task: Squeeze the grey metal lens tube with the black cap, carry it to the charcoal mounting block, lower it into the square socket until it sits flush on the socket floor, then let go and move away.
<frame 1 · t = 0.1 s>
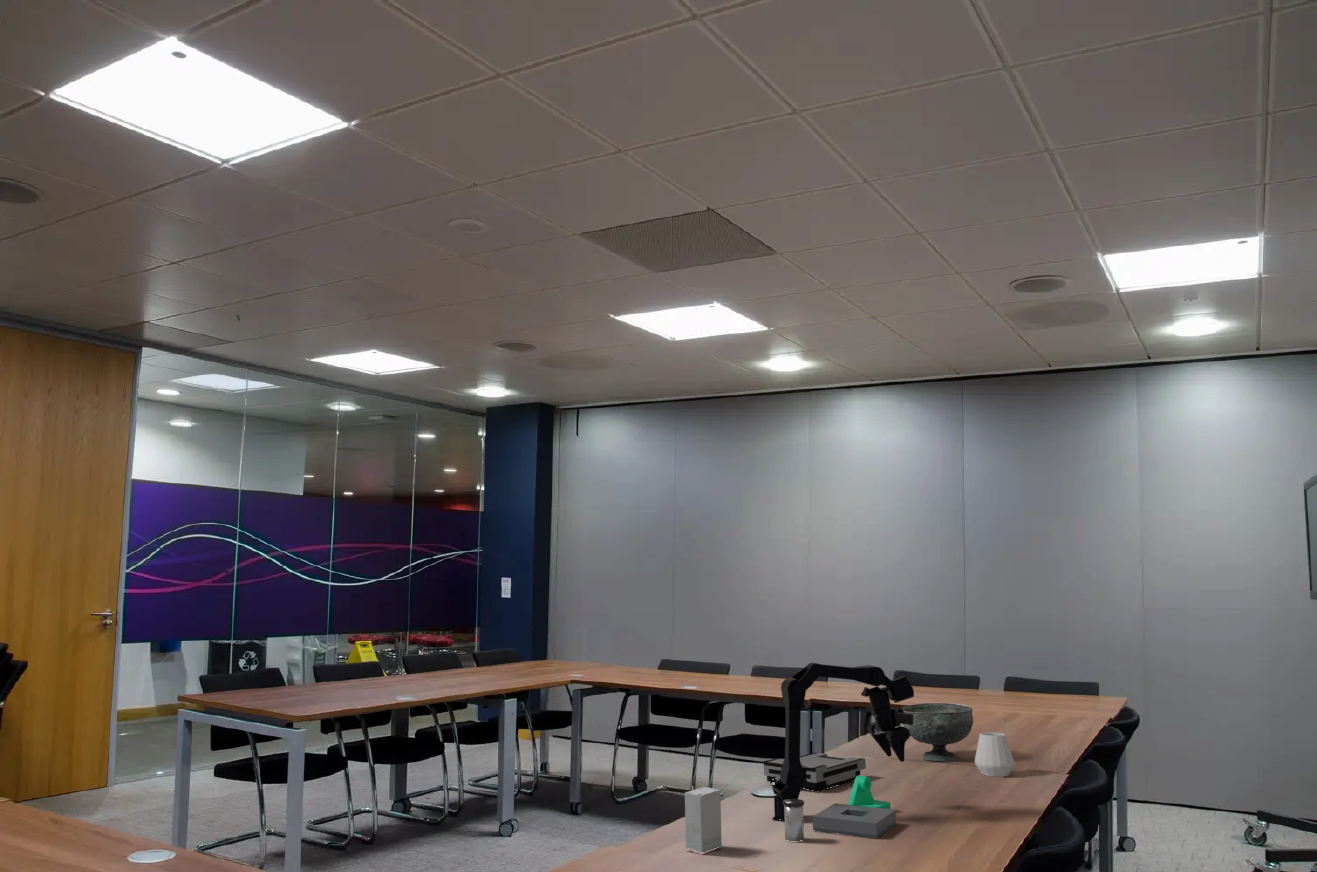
hand: (896, 758, 293), 15 cm above the table, tool pointing down, fingers open, 9 cm apart
skincare box: (703, 850, 252), on the table
white faceted vase: (995, 775, 346), on the table
game console: (816, 783, 337), on the table
lens tube: (794, 840, 261), on the table
mount block: (855, 827, 273), on the table
camera mount: (870, 813, 291), on the table
decorative bowl: (939, 759, 377), on the table
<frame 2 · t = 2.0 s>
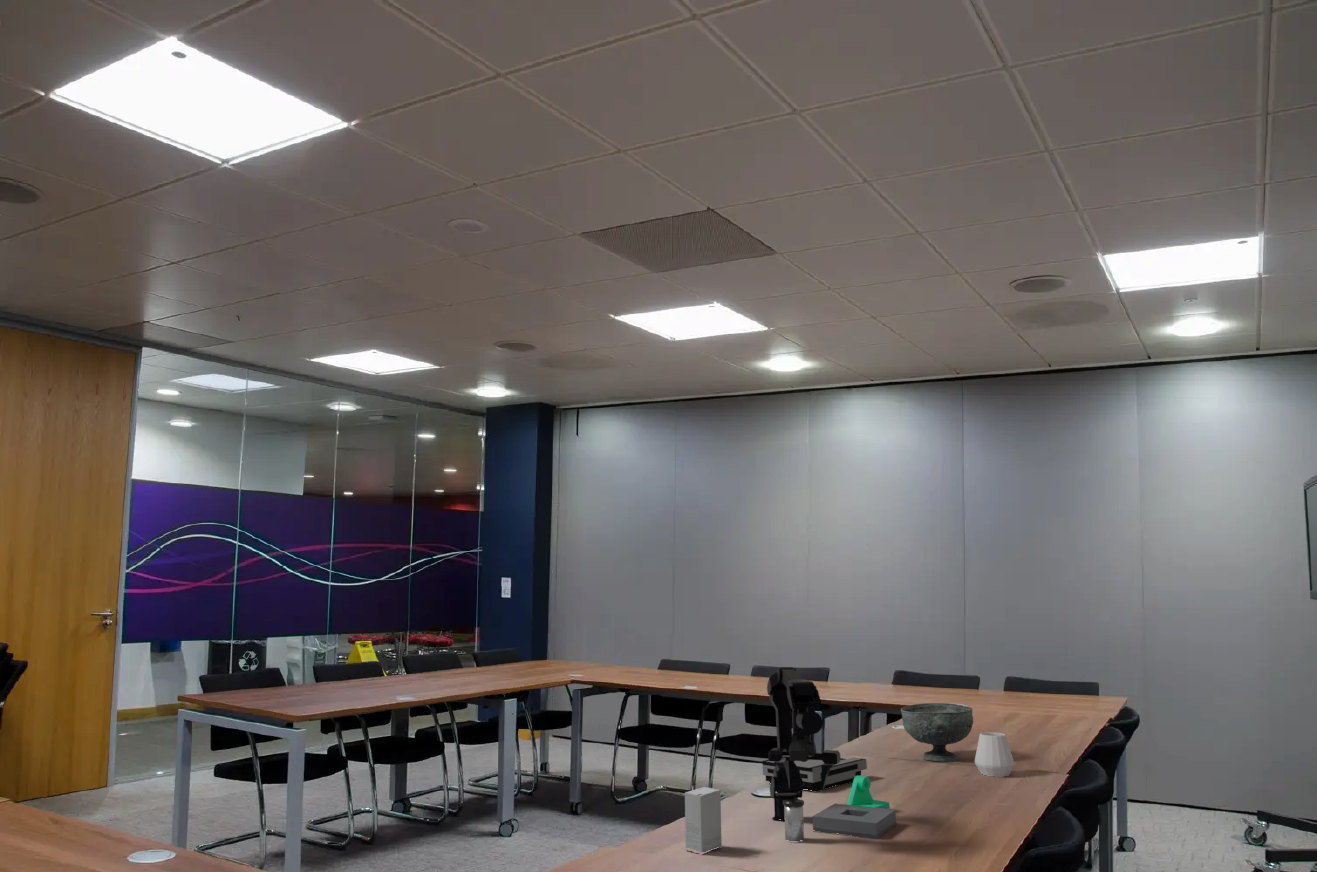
hand: (805, 789, 262), 13 cm above the table, tool pointing down, fingers open, 9 cm apart
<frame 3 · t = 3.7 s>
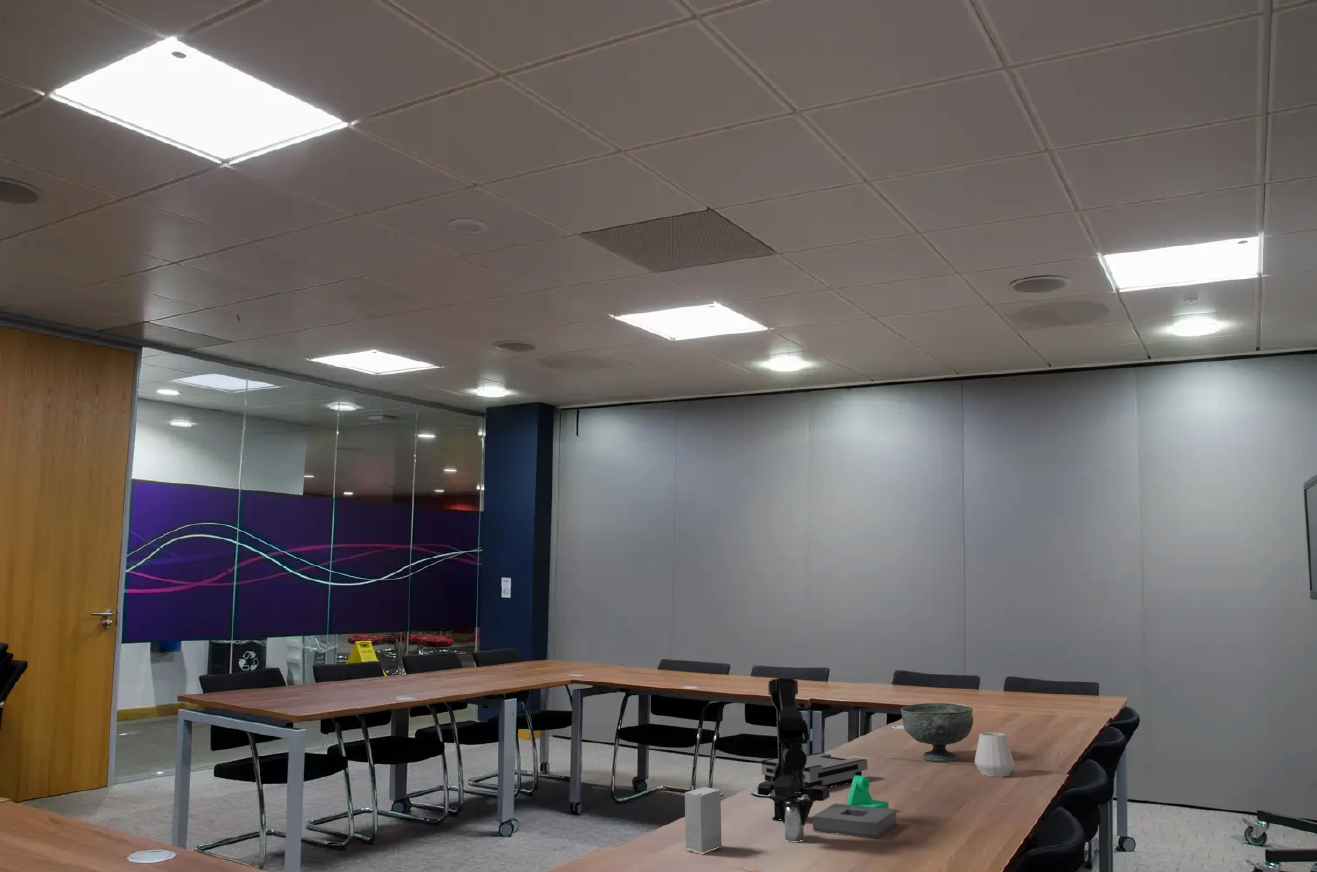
hand: (794, 824, 262), 4 cm above the table, tool pointing down, fingers closed on lens tube, 5 cm apart
lens tube: (794, 840, 261), on the table, touching gripper
everything else where it was.
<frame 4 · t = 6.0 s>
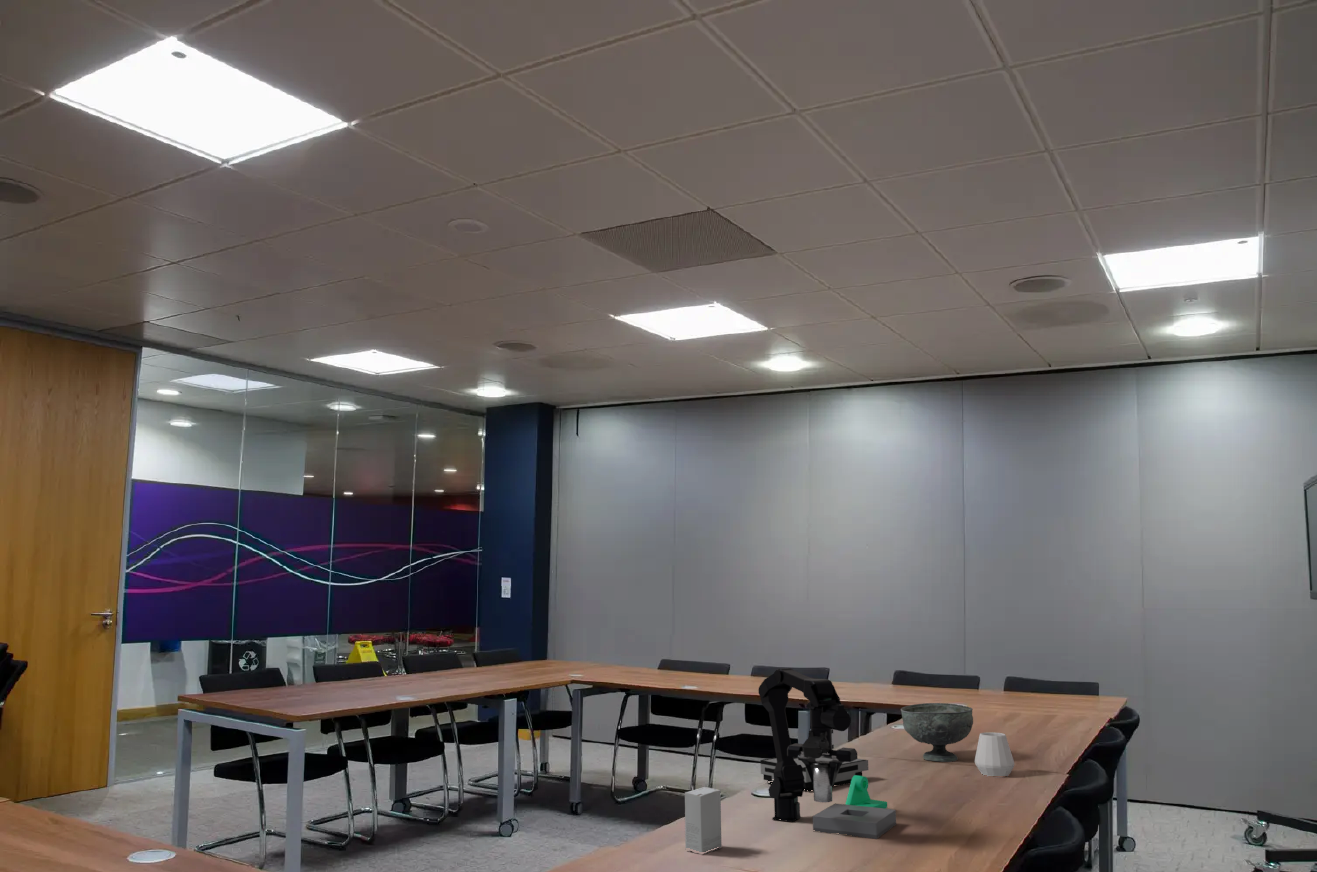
hand: (822, 784, 269), 13 cm above the table, tool pointing down, fingers closed on lens tube, 5 cm apart
lens tube: (823, 800, 268), point 9 cm above the table, touching gripper
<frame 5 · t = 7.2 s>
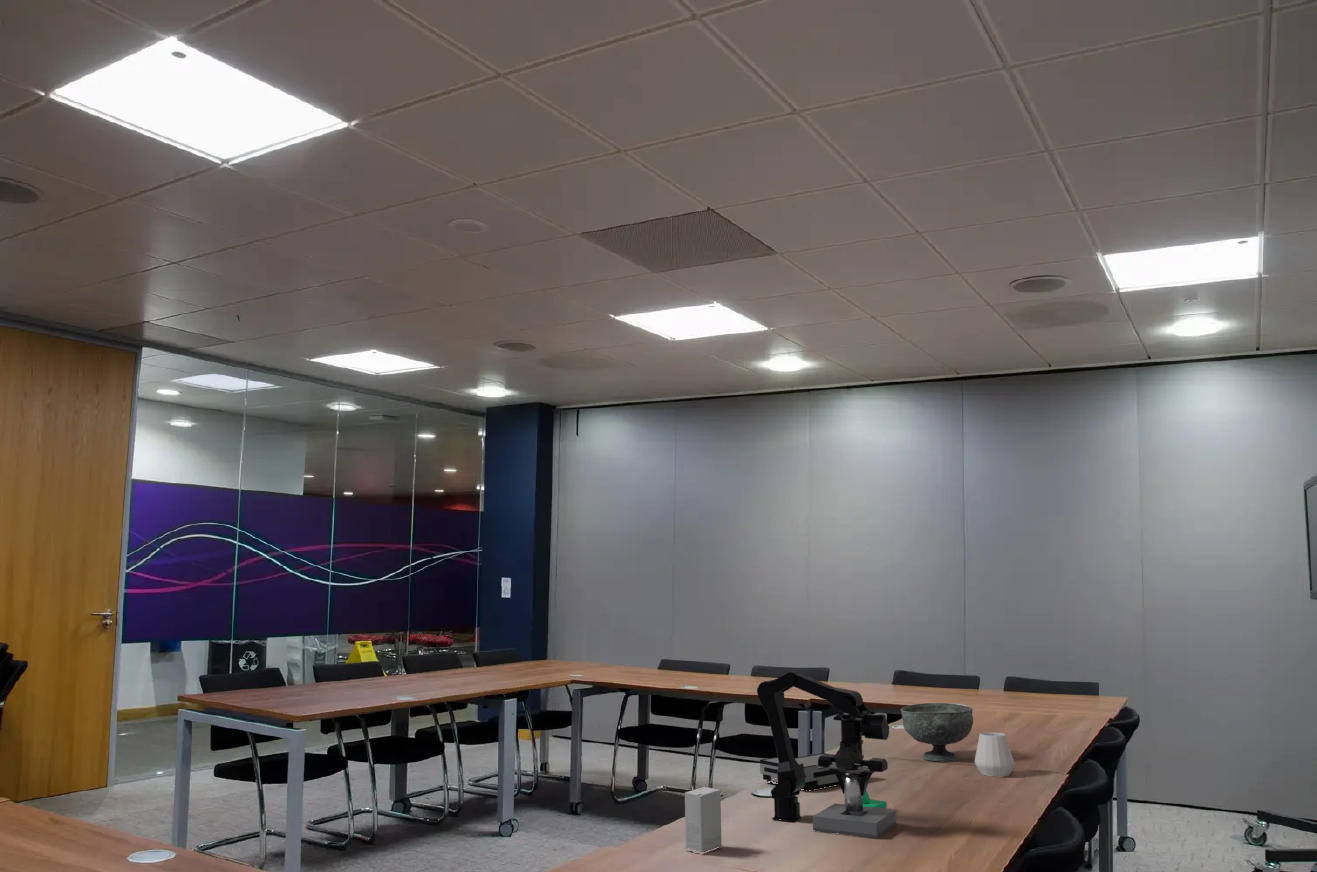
hand: (853, 794, 275), 9 cm above the table, tool pointing down, fingers closed on lens tube, 5 cm apart
lens tube: (853, 809, 274), point 5 cm above the table, touching gripper
when the fingers open (5 cm above the table, at t = 8.3 s): lens tube stays where it is, resting on mount block.
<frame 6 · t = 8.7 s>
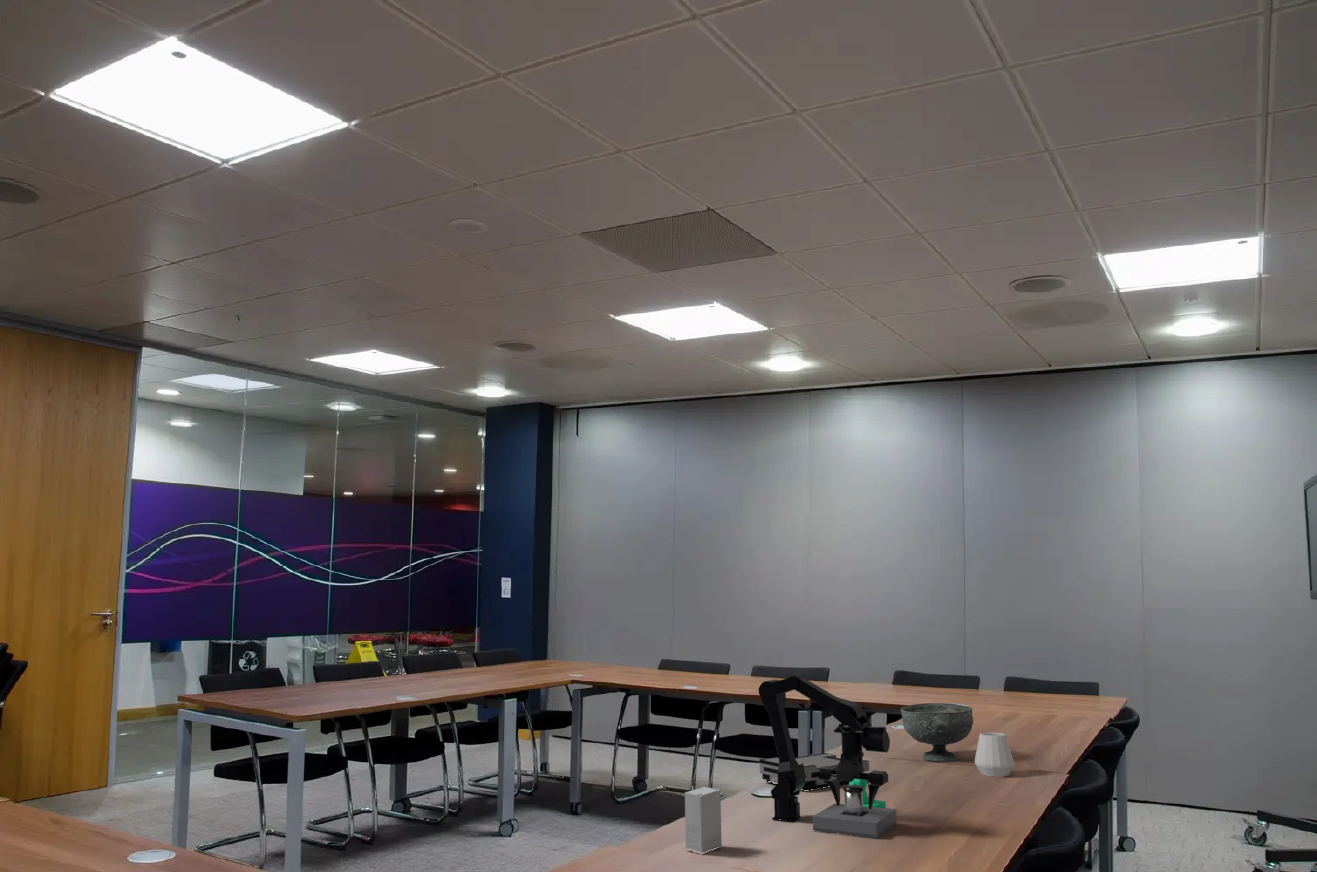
hand: (854, 807, 274), 5 cm above the table, tool pointing down, fingers open, 9 cm apart
lens tube: (854, 824, 273), point 1 cm above the table, touching mount block
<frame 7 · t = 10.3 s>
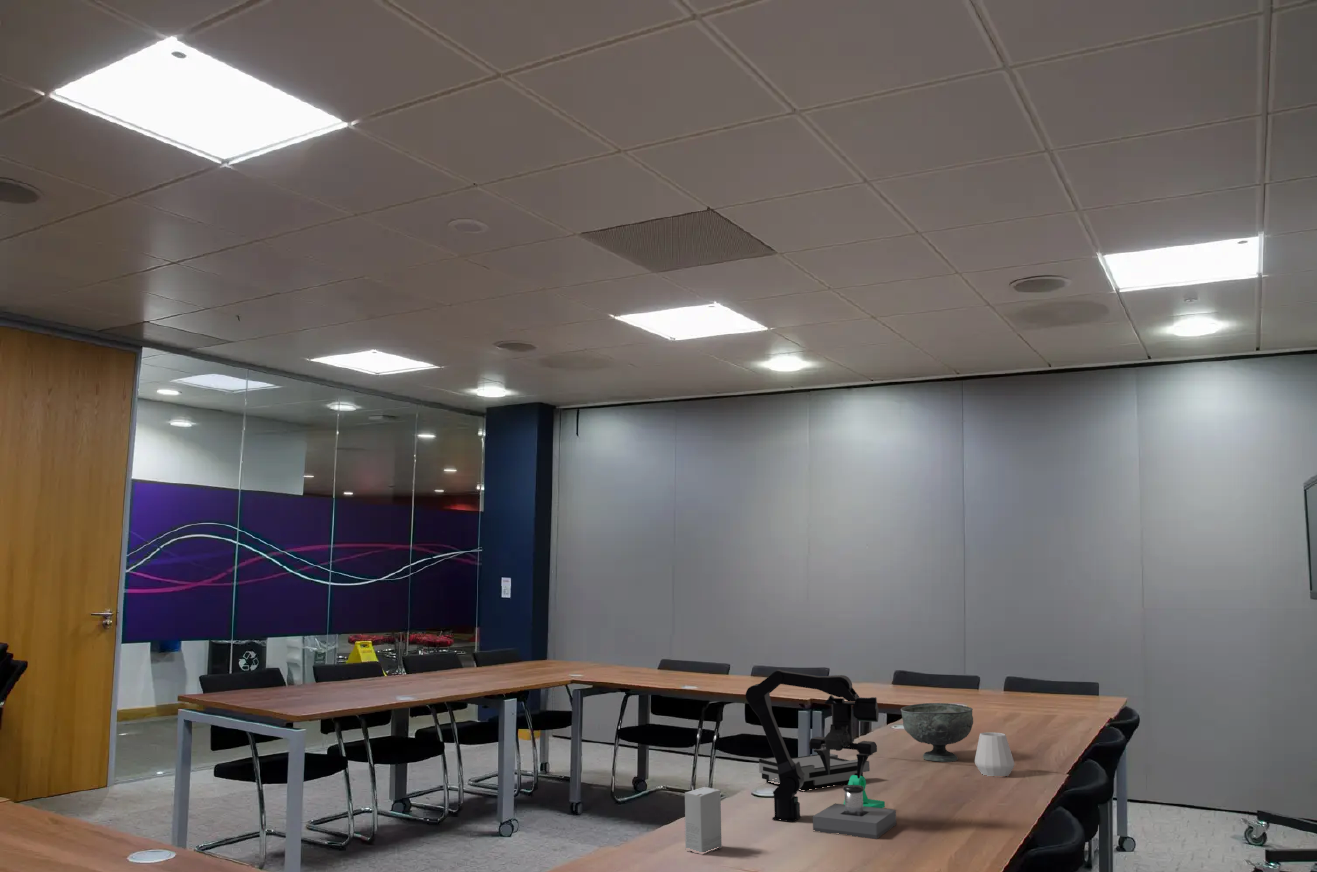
hand: (843, 776, 281), 13 cm above the table, tool pointing down, fingers open, 9 cm apart
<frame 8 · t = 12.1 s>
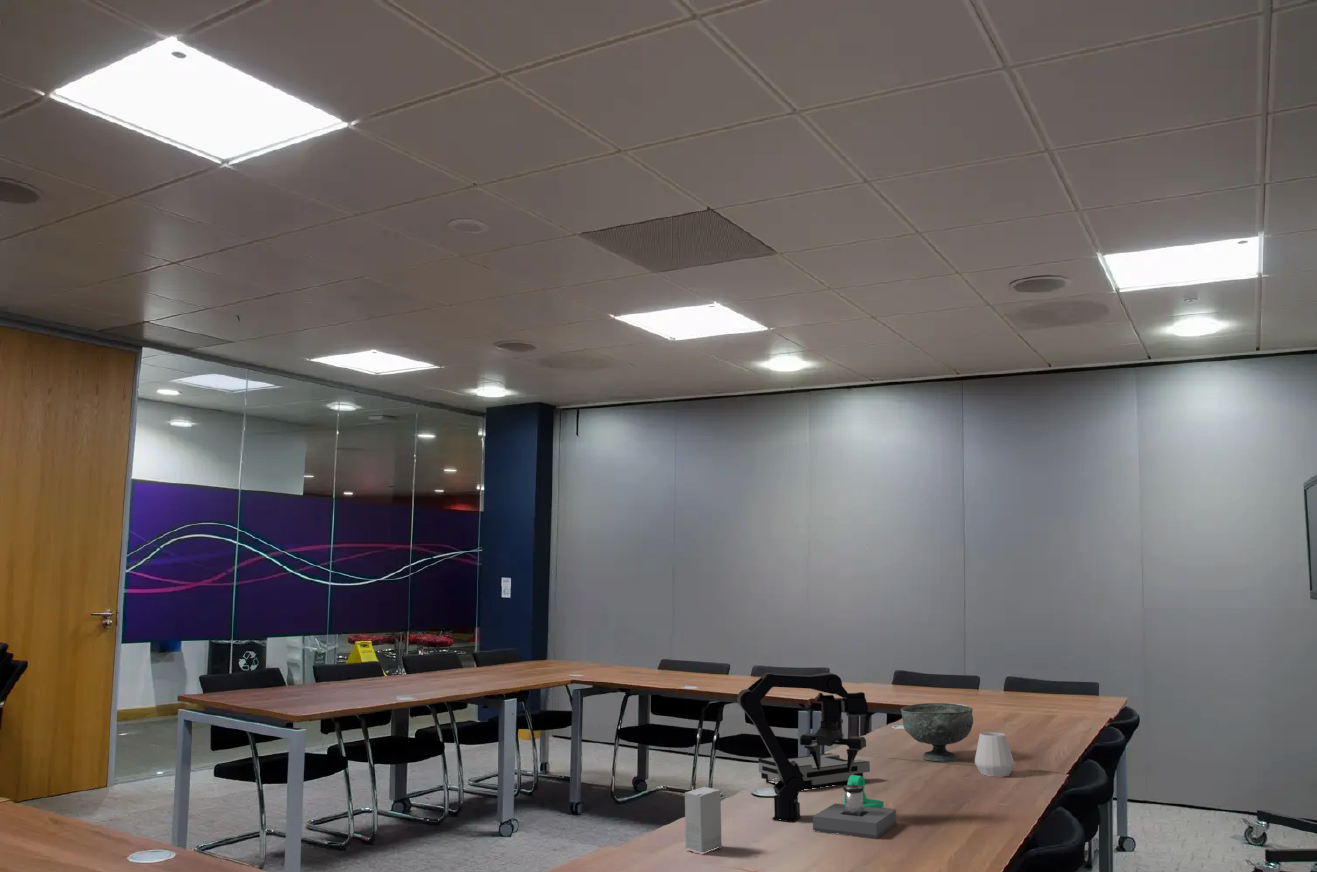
hand: (833, 771, 287), 13 cm above the table, tool pointing down, fingers open, 9 cm apart
at the end: lens tube 0.1 cm off-centre on the mount block, point 1.0 cm above the mount block's base; lens tube tilted 0°; the gripper is holding nothing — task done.
